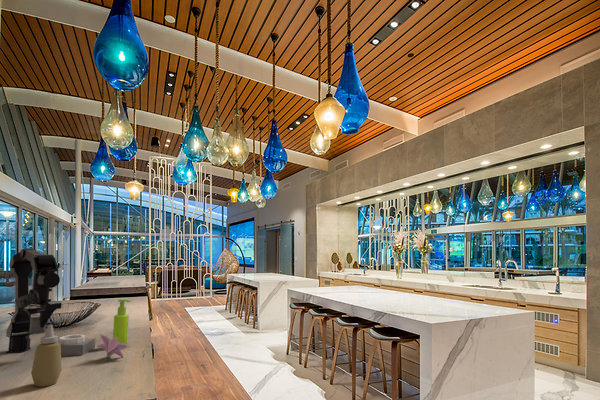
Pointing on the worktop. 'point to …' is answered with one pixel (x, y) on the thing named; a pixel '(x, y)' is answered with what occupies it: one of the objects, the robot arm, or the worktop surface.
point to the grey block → (36, 324)
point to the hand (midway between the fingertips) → (37, 327)
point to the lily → (112, 346)
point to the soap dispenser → (121, 323)
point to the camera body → (76, 345)
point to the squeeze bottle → (47, 360)
